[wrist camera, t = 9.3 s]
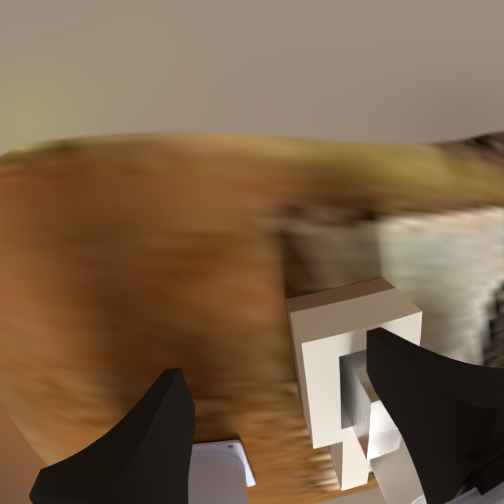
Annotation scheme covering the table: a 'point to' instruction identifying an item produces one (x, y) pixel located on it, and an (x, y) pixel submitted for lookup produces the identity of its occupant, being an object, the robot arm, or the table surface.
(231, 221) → the table surface
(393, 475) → the mug
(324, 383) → the slotted upright plate
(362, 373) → the white upright block
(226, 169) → the table surface
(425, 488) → the robot arm
